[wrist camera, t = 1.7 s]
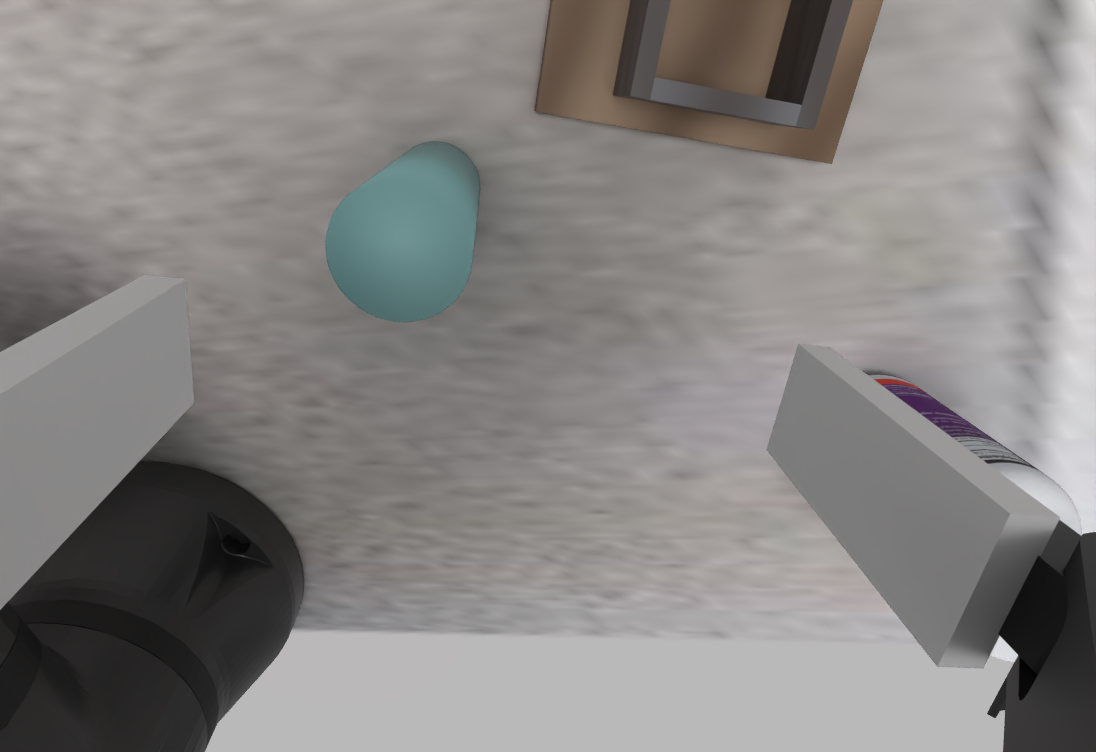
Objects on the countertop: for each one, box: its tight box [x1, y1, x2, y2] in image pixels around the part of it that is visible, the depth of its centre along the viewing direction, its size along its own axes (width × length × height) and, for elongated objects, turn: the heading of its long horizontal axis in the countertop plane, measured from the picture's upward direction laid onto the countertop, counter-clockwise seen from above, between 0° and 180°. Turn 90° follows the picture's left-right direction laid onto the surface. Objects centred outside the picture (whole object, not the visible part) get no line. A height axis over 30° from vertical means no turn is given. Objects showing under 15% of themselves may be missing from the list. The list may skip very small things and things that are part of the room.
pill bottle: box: [868, 375, 1082, 662], centre depth 32 cm, size 8×8×14 cm
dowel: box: [326, 142, 480, 322], centre depth 25 cm, size 4×4×14 cm
